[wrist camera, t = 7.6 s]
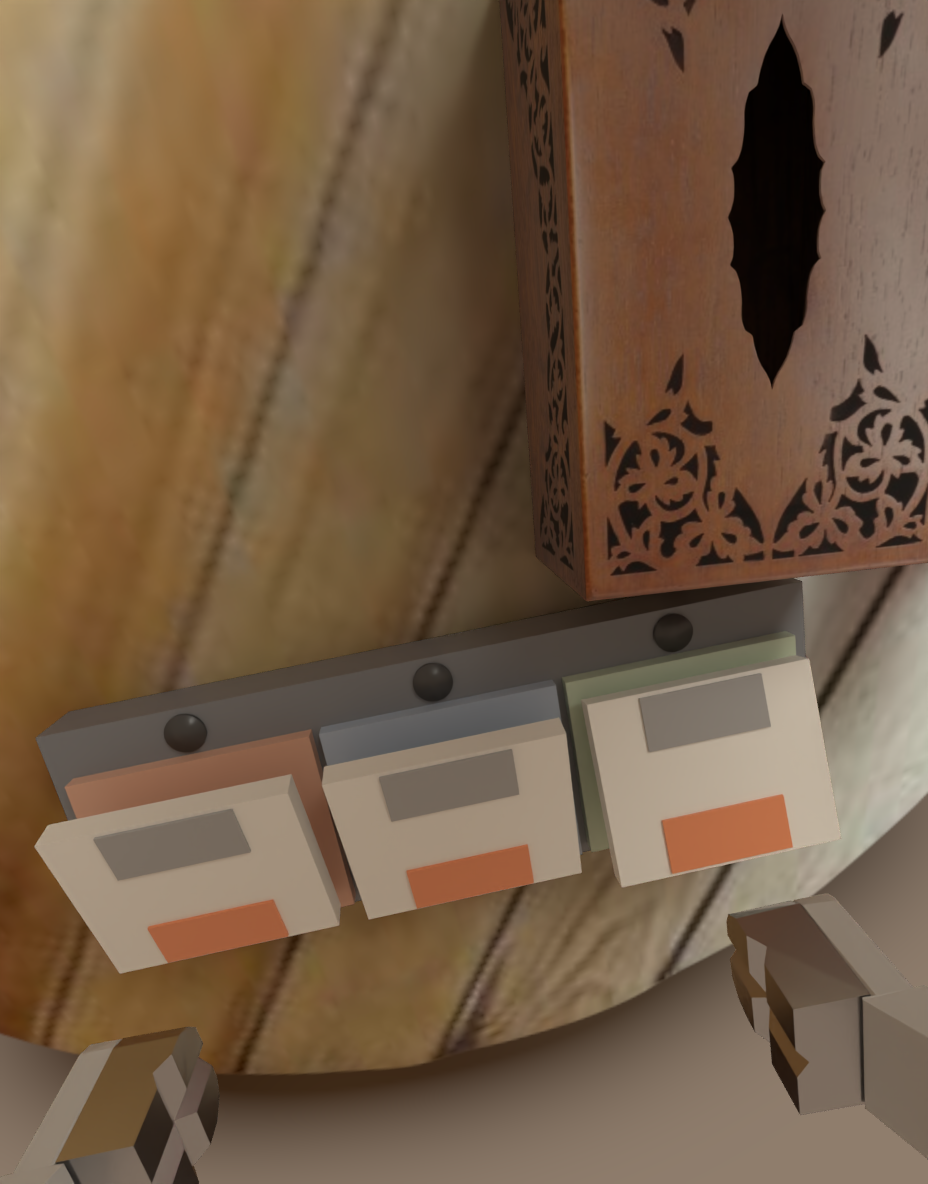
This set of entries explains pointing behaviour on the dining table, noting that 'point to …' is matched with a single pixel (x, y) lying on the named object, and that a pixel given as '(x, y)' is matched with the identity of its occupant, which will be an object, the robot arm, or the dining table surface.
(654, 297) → the tissue box cover
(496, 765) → the cream rectangular plate
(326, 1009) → the dining table surface
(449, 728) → the gray rocker switch panel
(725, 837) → the cream two-patch switch cover
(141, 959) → the cream patched switch plate
